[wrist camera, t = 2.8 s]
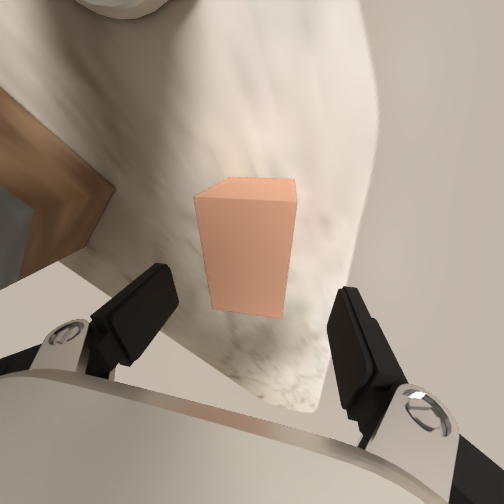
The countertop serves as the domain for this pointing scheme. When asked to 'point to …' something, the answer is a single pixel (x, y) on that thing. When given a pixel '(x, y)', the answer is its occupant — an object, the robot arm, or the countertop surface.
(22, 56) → the countertop surface
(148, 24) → the countertop surface
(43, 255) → the shiny metal block
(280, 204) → the terracotta brick
